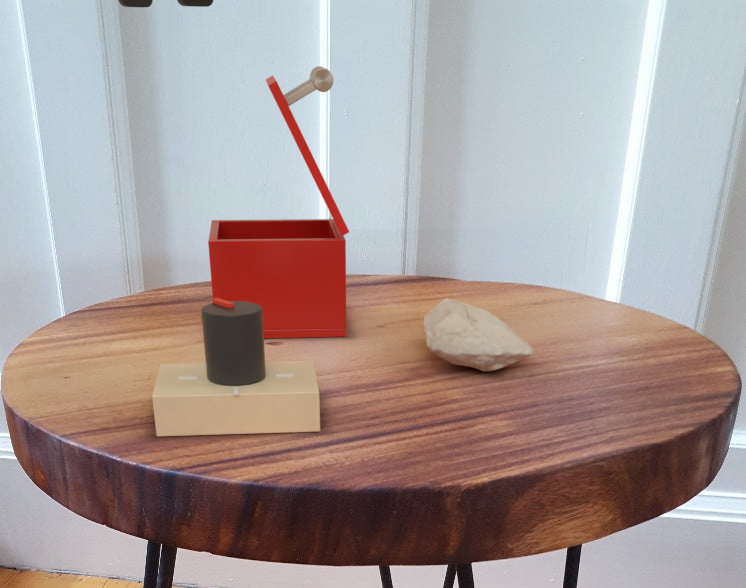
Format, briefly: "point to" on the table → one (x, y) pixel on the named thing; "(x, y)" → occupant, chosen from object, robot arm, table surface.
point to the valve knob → (233, 342)
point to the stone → (472, 337)
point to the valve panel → (236, 401)
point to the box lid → (322, 83)
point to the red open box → (283, 273)
